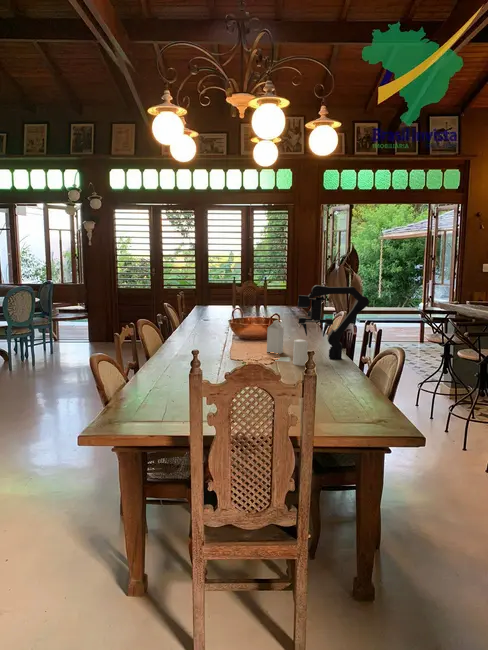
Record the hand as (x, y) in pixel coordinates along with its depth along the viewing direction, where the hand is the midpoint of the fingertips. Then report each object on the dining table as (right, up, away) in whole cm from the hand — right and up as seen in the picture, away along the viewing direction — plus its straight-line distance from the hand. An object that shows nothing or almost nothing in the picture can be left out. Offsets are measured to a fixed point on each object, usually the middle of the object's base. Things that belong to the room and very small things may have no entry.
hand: (314, 336), depth 272 cm
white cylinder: (-10, -14, -16) cm, 24 cm away
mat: (-19, -13, -6) cm, 24 cm away
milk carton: (-22, -10, +10) cm, 26 cm away
